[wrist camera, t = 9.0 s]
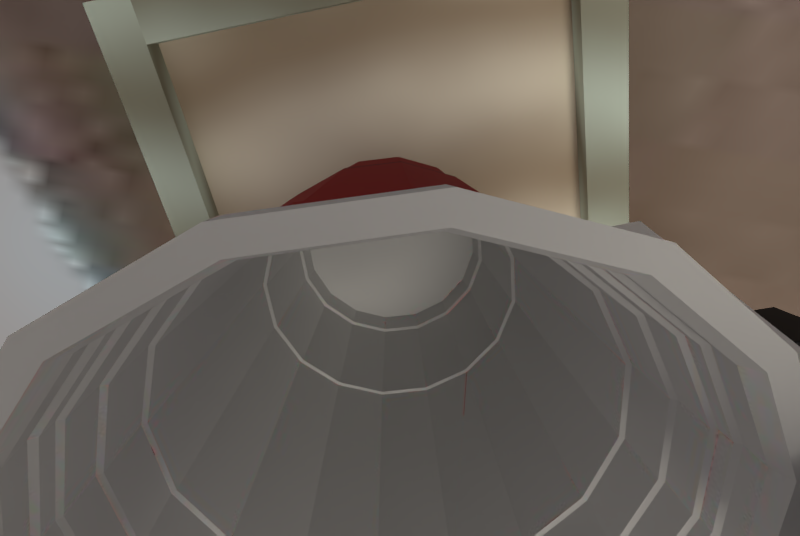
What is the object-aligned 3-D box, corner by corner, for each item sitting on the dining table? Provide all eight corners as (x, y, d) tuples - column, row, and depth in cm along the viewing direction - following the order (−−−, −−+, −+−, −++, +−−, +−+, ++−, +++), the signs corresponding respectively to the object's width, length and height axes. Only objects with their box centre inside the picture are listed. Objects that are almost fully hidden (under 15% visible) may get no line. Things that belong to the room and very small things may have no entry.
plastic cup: (458, 419, 20) (531, 872, 9) (188, 309, 18) (-119, 735, 7) (631, 175, 16) (1103, 476, 5) (310, -3, 14) (30, -93, 3)
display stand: (146, 7, 22) (82, 3, 17) (577, -87, 21) (628, -117, 16) (270, 357, 30) (247, 418, 25) (591, 304, 28) (629, 357, 24)
